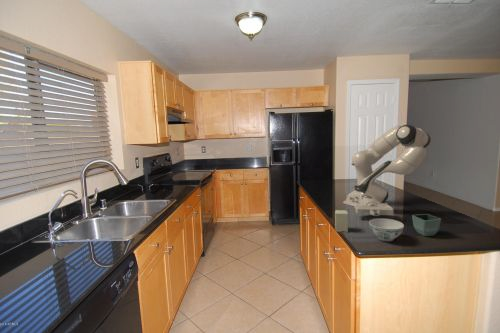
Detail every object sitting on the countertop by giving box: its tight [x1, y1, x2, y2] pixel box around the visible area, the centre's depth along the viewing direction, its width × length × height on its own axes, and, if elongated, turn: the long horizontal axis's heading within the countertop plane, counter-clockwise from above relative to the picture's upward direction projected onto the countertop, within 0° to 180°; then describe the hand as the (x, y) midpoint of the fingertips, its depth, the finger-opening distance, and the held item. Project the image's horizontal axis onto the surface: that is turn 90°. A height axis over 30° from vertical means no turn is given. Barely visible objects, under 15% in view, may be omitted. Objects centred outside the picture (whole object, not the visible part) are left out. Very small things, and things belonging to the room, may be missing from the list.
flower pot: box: [411, 213, 442, 237], centre depth 127 cm, size 9×9×9 cm
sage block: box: [334, 209, 349, 233], centre depth 138 cm, size 6×6×10 cm
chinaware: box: [368, 218, 405, 242], centre depth 124 cm, size 15×15×8 cm
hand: (376, 214), depth 143 cm, fingers closed
